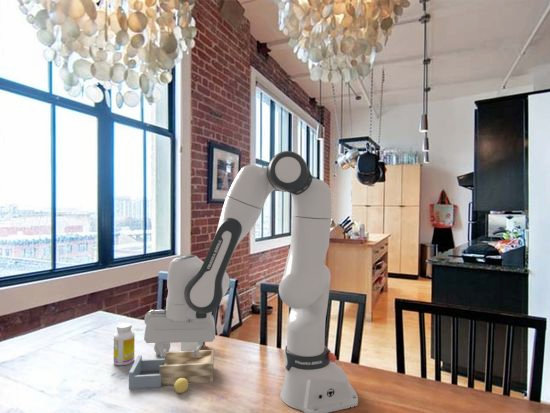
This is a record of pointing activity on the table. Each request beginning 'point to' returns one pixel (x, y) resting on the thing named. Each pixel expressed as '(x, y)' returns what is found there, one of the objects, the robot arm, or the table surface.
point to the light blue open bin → (145, 373)
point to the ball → (181, 385)
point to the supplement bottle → (124, 344)
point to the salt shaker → (165, 346)
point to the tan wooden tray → (187, 367)
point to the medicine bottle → (190, 346)
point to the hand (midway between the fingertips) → (179, 355)
